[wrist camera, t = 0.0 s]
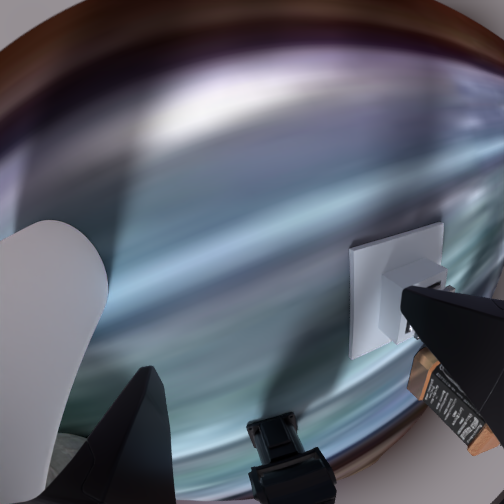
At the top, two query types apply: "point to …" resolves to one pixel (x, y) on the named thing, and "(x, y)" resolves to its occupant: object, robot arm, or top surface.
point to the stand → (390, 284)
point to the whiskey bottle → (449, 402)
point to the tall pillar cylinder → (42, 343)
